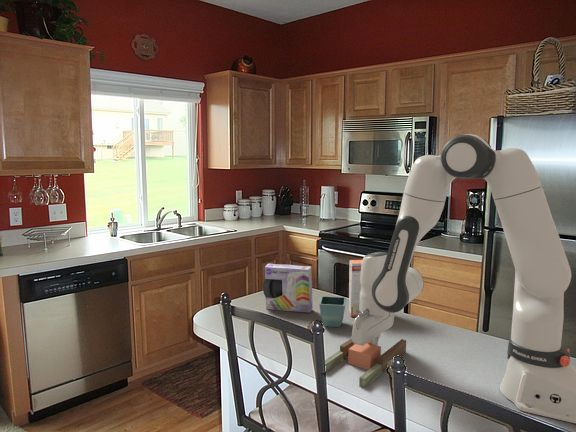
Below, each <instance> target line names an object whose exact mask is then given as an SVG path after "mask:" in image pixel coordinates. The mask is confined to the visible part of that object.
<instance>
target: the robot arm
mask: <svg viewBox="0 0 576 432" xmlns="http://www.w3.org/2000/svg"><path fill="white" fill-rule="evenodd" d="M456 179H461V180H462V179H463V180H469V179H483V180H485V181H486V182H487V185H488V187H489V190H490V191H491V196H492V199H493V202H494V205H495V208H496V210H497V214H498V217H499V219H500V223H501V227H502V229H503V232H504V237H505V239H506V244H507V246H508V247H507V248H508V249H509V253H510V257H511V260H512V263H513V266H514V269H515V275H514V286H513V287H514V289H513V304H512V306H513V307H512V318H511V329H510V330H511V331H510V336H509V338H508V341H507V350H506V354H507V355H506V356H507V363H506V367H505V372H504V375H503V378H502V381H501V382H500V385H499V391H500V392H501V394H502V395H503V396H504V397H505V398H506V399H508V400H509V401H511V403H513V404H514V406H516V408H517V409H519V411H522V412H525V413H530V414H534V415H539V416H542V417H545V418H551V419H555V420H559V421H564V422H568V423H572V424H576V368H575V366H573V365H572V364H571V353H570V348H567V349H565V348H564V346H562V337H563V328H564V327H563V326H564V320H565V318H564V314H565V313H564V312H565V311H564V306H565V305H564V302H565V301H564V299H565V294H564V293H565V292H566V291H567V289H568V288H569V286H570V285H571V284H570V283H571V280H572V270H571V267H570V263H569V260H568V257H567V254H566V251H565V249H564V246H563V244H562V240H561V238H560V235H559V232H558V230H557V227H556V223H555V221H554V218H553V216H552V212H551V209H550V206H549V203H548V200H547V196H546V194H545V190H544V188H543V186H542V185H543V184H542V182H541V179H540V177H539V174H538V172H537V170H536V168H535V166H534V164H533V162H532V160H531V159H530V157H529V155H528V154H527V152H526V151H525V150H523V149H521V148H517V147H510V148H504V149H501V150H495V149H493V148H492V146H491V144H490V143H489V142H488V141H487V140H486V139H485V138H483V137H481V136H480V135H476V134H472V133H465V134H458V135H456V136H454V137H451V138H450V139H449V140H448V141H447V142H446V143H445V144H444V146H443V147H442V149H441V153H440V155H435V154H434V155H433V154H425V155H422V156H419V157H418V158H416V159H415V161H414V162H413V164H412V166H411V169H410V171H409V174H408V177H407V180H406V182H405V185H404V190H403V193H402V198H401V204H400V208H399V212H398V216H397V220H396V223H395V228H394V230H393V233H392V237H391V240H390V244H389V247H388V250H387V252H385V251H376V252H371V253H367V254H366V255H365V256H363V258H362V259H361V260H362V265H361V274H360V282H361V291H360V303H359V310H360V311H361V313H359V314H358V317H354V320H353V324H352V331H351V338H352V342H353V343H354V344H357V345H361V346H363V345H365V344H366V343H370V344H373V345H377V346H379V340H380V337H381V334H382V333H384V332H386V331H387V330H388V329H389V328H390V329H391V328H392V326H393V325H394V321H395V313H398V312H400V311H402V310H403V309H404V308H405V307H406V306H407V304H410V303H411V301H413V300H414V299H415V298H417V297H418V296H419V295H420V294H422V292H423V289H424V285H425V281H424V278H423V276H422V274H421V273H420V271H418V270H417V268H414V267H411V262H412V259H413V255H414V252H415V249H416V247H417V246H418V244H419V243H420V242H421V239H423V237H424V236H425V235H426V234H427V233H429V231H431V229H433V228H434V227H435V226H436V225H437V224H438V222H439V220H440V218H441V215H442V212H443V210H444V208H445V203H446V199H447V195H448V191H449V188H450V185H451V184H452V183H453V181H454V180H456Z"/></svg>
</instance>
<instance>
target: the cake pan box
mask: <svg viewBox="0 0 576 432" xmlns="http://www.w3.org/2000/svg"><path fill="white" fill-rule="evenodd" d="M312 271H313V270H312V266H308V265H307V266H306V265H296V264H282V263H281V264H277V263H276V264H275V263H267V264H266V265H265V266H264V280H263V283H262V291H263V295H264V297H265V309H266V310H273V311H274V310H276V311H287V312H295V313H296V312H298V313H311V312H312V311H313V309H314V308H313V307H314V306H313V277H312V276H313V275H312Z"/></svg>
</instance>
